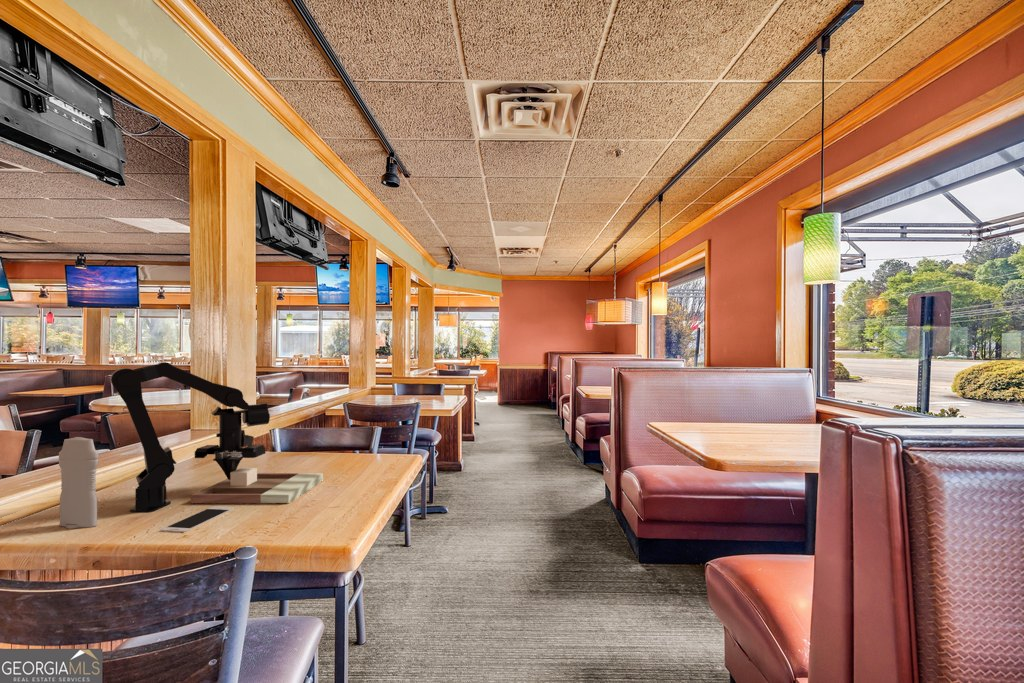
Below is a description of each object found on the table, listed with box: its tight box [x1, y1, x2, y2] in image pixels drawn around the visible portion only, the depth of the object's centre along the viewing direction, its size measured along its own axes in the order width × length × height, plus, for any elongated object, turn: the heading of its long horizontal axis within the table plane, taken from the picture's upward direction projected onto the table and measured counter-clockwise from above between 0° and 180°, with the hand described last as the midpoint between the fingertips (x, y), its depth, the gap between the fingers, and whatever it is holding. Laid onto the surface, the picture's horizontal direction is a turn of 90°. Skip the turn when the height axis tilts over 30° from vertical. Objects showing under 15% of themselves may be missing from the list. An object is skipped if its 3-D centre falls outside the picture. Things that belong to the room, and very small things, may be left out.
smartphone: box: [160, 505, 236, 533], centre depth 112 cm, size 7×16×1 cm, turn 171°
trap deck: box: [190, 472, 324, 504], centre depth 133 cm, size 21×28×2 cm
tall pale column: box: [58, 436, 99, 530], centre depth 109 cm, size 11×4×22 cm, turn 84°
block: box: [230, 467, 258, 486], centre depth 133 cm, size 5×5×4 cm
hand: (230, 479), depth 134 cm, fingers closed
